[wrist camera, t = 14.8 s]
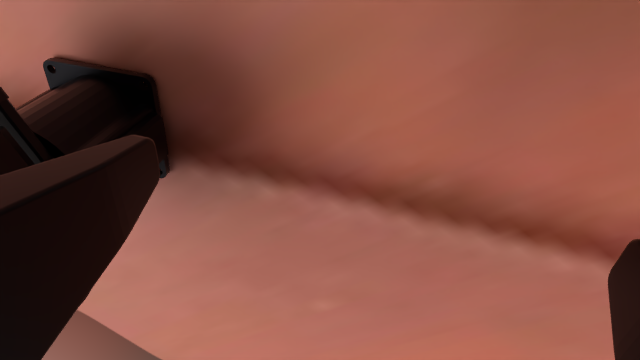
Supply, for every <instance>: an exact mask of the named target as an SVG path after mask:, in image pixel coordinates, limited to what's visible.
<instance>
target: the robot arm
mask: <svg viewBox="0 0 640 360" xmlns="http://www.w3.org/2000/svg"><path fill="white" fill-rule="evenodd" d="M53 67H54V68H55V69H54V68H53ZM43 68H44V71H45V74H46V77H47V81H48V84H49V87H50V89H49V90H48V91H46V92H44V93H42V94H41V95H39V96H37V97H35V98H33V99H32V100H30V101H28V102H26V103H25V104H23V105H21V106H19V107H17V108H16V109H15V108H14V107H13V106H12V104H11V103H10V102H9V100H8V98H9V97H8V95H7V94H6V93H5V92H4V90H3V89H2V88H1V87H0V360H41V359H42V358H43V356H44V355H45V353H46V352H47V351H48V349H49V348H50V346H51V345H52V344H53V342H54V341H55V339H56V338H57V336H58V335H59V334H60V332H61V331H62V330H63V328H64V327H65V325H66V324H67V323H68V321H69V320H70V318H71V317H72V316H73V314H74V313H75V311H76V310H77V309H78V307H79V306H80V305H81V304H82V302H83V301H84V300H85V299H86V297H87V296H88V294H89V293H90V291H91V289H92V287H93V286H94V285H95V283H96V282H97V280H98V279H99V278H100V276H101V275H102V273H103V272H104V271H105V269H106V268H107V266H108V265H109V264H110V262H111V261H112V259H113V258H114V257H115V255H116V254H117V252H118V251H119V249H120V248H121V246H122V245H123V243H124V242H125V240H126V239H127V237H128V235H129V234H130V232H131V230H132V229H133V227H134V225H135V223H136V221H137V220H138V218H139V216H140V214H141V212H142V211H143V209H144V207H145V205H146V204H147V202H148V200H149V198H150V196H151V195H152V193H153V191H154V189H155V187H156V186H157V184H158V181H159V178H164V177H166V175H167V174H168V173H169V171H170V168H169V162H168V156H167V155H168V149H167V143H166V136H165V130H164V124H163V118H162V116H161V112H160V106H159V99H158V93H157V87H156V83H155V80H154V79H153V78H152V77H151V76H150V75H147V74H143V73H138V72H132V71H126V70H121V69H115V68H109V67H104V66H98V65H92V64H87V63H81V62H75V61H70V60H64V59H58V58H50V59H48V60H46V61H45V62H44V63H43ZM143 82H145V83H146V84H147V86H148V87H146V86H145V85H144V83H143ZM160 169H161V170H162V171H161V170H160ZM608 291H609V302H610V313H611V324H612V335H613V346H614V355H615V360H640V239H634V240H632V241H631V242H630V243H629V244H628V245H627V247H626V248H625V250H624V251H623V253H622V254H621V256H620V257H619V259H618V260H617V262H616V263H615V265H614V266H613V268H612V269H611V271H610V274H609V277H608Z"/></svg>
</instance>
